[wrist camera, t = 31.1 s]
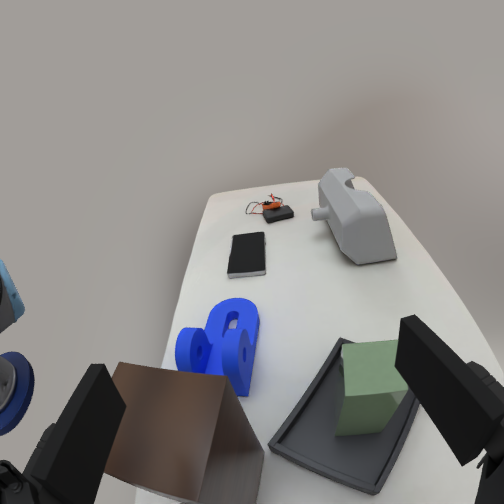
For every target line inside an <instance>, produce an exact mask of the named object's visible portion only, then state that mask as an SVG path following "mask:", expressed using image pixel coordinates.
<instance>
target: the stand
mask: <svg viewBox="0 0 504 504" xmlns="http://www.w3.org/2000/svg"><path fill="white" fill-rule="evenodd" d="M112 380H113V382H114V384H115V386H116V388H117V390H118V391H119V393H120V395H121V397H122V399H123V400H124V402H125V404H126V406H127V407H126V410H125V412H124V415H123V418H122V420H121V423H120V426H119V429H118V431H117V434H116V437H115V440H114V443H113V446H112V448H111V451H110V454H109V457H108V460H107V463H106V466H105V469H104V473H106V474H108V475H110V476H113V477H115V478H117V479H119V480H122V481H124V482H127V483H129V484H131V485H133V486H136V487H138V488H141V489H144V490H146V491H149V492H152V493H155V494H157V495H160V496H163V497H166V498H169V499H173V500H176V501H179V502H183V503H187V504H256V501H257V495H258V489H259V483H260V477H261V471H262V464H263V458H264V451H263V449H262V447H261V445H260V443H259V441H258V439H257V437H256V435H255V433H254V431H253V429H252V427H251V425H250V423H249V421H248V419H247V417H246V415H245V413H244V410H243V408H242V406H241V404H240V402H239V400H238V398H237V396H236V393H235V391H234V389H233V387H232V385H231V382H230V380H229V378H228V376H225V375H213V374H202V373H192V372H183V371H175V370H167V369H160V368H153V367H147V366H141V365H135V364H129V363H123V362H119V363H118V366H117V367H116V370H115V372H114V374H113V376H112Z"/></svg>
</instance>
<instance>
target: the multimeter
mask: <svg viewBox="0 0 504 504" xmlns="http://www.w3.org/2000/svg"><path fill="white" fill-rule="evenodd" d="M268 196H269V195H268ZM271 197H272V198H273V197H274V196H272V194H271ZM274 198H278V197H274ZM274 198H273V200H274ZM278 199H281V198H278ZM251 203H252V202H251ZM256 203H258V202H256ZM262 203H263V204H262ZM262 203H260V204H262V206H263V209H269V210H264V211H263V213H252V212H251V213H252V214H263V216H264V218H265V220H266V221H267V222H268V223H270V222H273V221H277V220H281V219H286V218H290V217H293V216H294V212H293V210H292V209H291V208H290V207H289V206H288V205H286V206H284V205H283V204H282V205H283V206H282V207H280V204H281V203H282V202H281V203H280V202H268V201H267V203H266V201H265V202H262ZM260 204H259V203H258V205H260ZM248 206H249V205H248ZM248 206H247V207H248ZM256 206H257V205H256ZM273 208H274V209H273ZM253 209H254V208H253ZM246 210H247V209H246ZM252 211H253V210H252ZM251 213H249V214H251ZM246 214H247V213H246Z"/></svg>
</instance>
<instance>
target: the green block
mask: <svg viewBox="0 0 504 504" xmlns="http://www.w3.org/2000/svg"><path fill="white" fill-rule="evenodd" d="M397 345H398V340H389V341H378V342H366V343H351V344H342V350H341V358H340V365H339V372H338V378H337V384H336V390H335V426H334V436H347V435H360V434H370V433H379V432H382V430H383V429H384V428H385V426H386V425H387V423H388V422H389V420H390V419H391V417H392V415H393V414H394V412H395V411H396V409H397V408H398V406H399V404H400V403H401V401H402V399H403V398H404V396H405V394H406V393H407V391H408V385H407V383H406V382H405V381H404V379H403V378H402V376H401V375H400V374H399V372H398V371H397V369H396V368H395V367H394V365H395V359H396V352H397Z"/></svg>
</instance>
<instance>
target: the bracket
mask: <svg viewBox="0 0 504 504" xmlns="http://www.w3.org/2000/svg"><path fill="white" fill-rule="evenodd" d="M233 319H238V321H237V326H236V329H228V327H229V323H230V321H231V320H233ZM258 329H259V316H258V311H257V308H256V306H255V305H254V303H252V302H251V301H249V300H247V299H243V298H231V299H227V300H224V301H222V302H220V303H219V304H217V305H216V306H215V307H214V308H213V309H212V310H211V312H210V314H209V317H208V320H207V323H206V327H205V330H203V329H202V328H183V329H182V330H181V331H180V333H179V335H178V338H177V341H176V347H175V360H176V365H177V368H178V371H183V372H192V373H202V374H213V375H225V376H228V378H229V380H230V382H231V385H232V387H233V389H234V391H235V393H236V396H248V394H249V388H250V382H251V375H252V369H253V362H254V356H255V349H256V342H257V336H258Z"/></svg>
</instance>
